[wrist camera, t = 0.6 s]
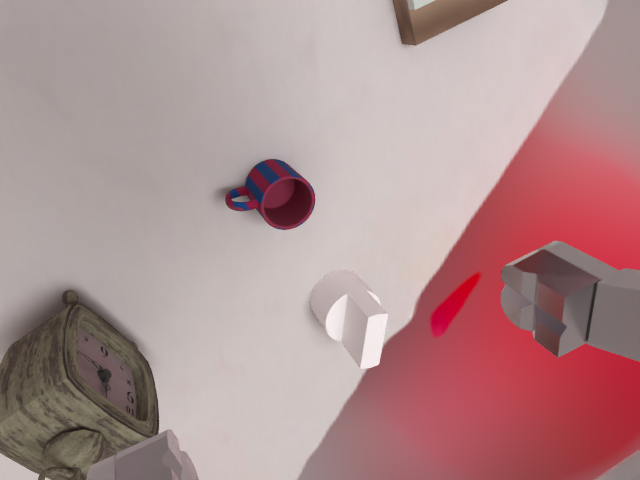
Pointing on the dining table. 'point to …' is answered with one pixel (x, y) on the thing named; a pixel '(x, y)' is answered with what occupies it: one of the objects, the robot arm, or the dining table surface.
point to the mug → (276, 195)
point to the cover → (417, 3)
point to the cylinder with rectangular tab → (351, 315)
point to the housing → (436, 17)
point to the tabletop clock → (74, 395)
